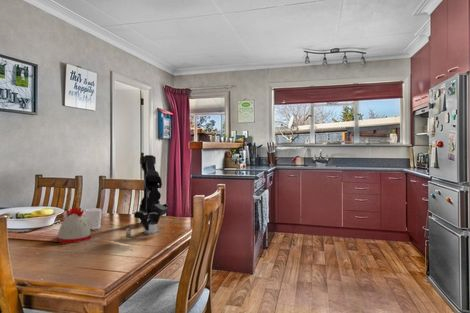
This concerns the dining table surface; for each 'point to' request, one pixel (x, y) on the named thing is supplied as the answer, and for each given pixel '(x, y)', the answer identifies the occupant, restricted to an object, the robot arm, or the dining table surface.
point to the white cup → (93, 218)
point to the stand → (151, 234)
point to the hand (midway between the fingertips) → (151, 229)
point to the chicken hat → (74, 227)
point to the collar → (152, 228)
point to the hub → (128, 234)
